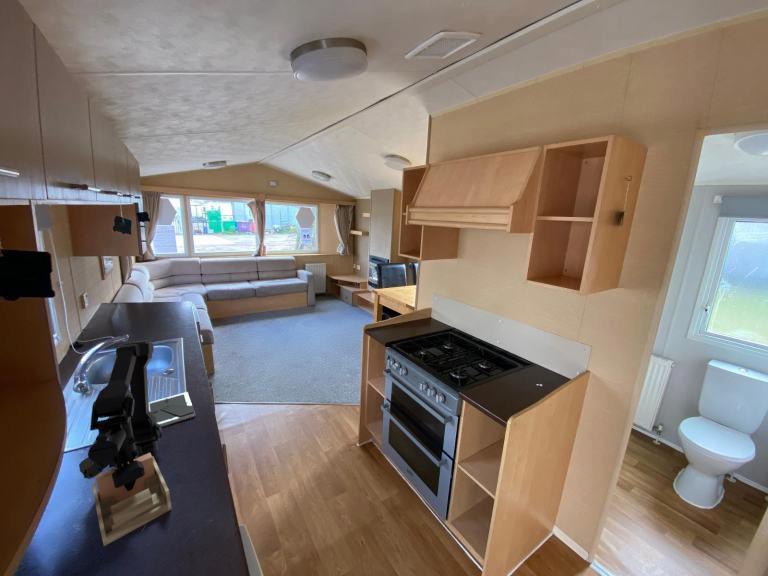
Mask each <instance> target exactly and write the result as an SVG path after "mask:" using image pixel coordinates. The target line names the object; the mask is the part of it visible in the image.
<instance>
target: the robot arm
mask: <svg viewBox="0 0 768 576" xmlns="http://www.w3.org/2000/svg"><path fill="white" fill-rule="evenodd" d="M154 348H155V347H154V344H153V342H150V341H149V340H148V339H145V340H135V341H128V342H124V344H123V345H120V346H117V347H116V350H115V355H116V357H115V360H114V364H113V367H112V370H111V373H110V376H109V378H108V379H109V380H108V382H107V385H106V386H105V387H103V388H102V389H101V390H100V391H99V392H98V394H97V396H96V399H95V401H93V404H92V407H91V410H92V411H91V418H90V426H89V431H90V432H91V431H95V430H98V434H97V435H96V438H95V440H94V441H93V443H92V445H91V446H90V447H89V449H88V452H87V457H86V458H84V459H83V460H82V461H81V462H80V463H79V464H78V467H79V472H80V473H81V474H82V476H83V478H84V479H87V480H91V479H93V478H96V475H98V474H100V473H103V472H104V469H106V468H107V467H109V468H110V469H112V468H115V467H117V469H116V470H115V471H114V472H113V473H112V479H113V483H114V487H115V488H119V487H121V486H123V485H124V486H125V488H126V490H127V491H130V490H132V489H133V487H134V484H135V482H136V479H138V478H141V477H143V476H144V475H145V472H144V467H143V465H142V462H141V461H137V460H135V461H134V459H136V458H138V457H141V456H143V455H146V454H148V453H151V455H152V457H154V458H155V457H156V455H157V454H158V451H159V449H158V442H159V441H160V439H161V438H163V436H164V435H163V429H162V427H161V426H160V425H159V424H158V423H156V418H155V416H154V415H153V414H152V413H151V412H150V411H149V386H148V385H149V384H148V383H149V382H148V368H147V366H148V365H149V364H150V362H151V360H152V358H153V353H154V350H155V349H154ZM105 418H106V419H105ZM99 419H101V420H99ZM128 462H129V464H128ZM122 464H123V467H122Z"/></svg>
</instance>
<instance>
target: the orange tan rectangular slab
mask: <svg viewBox="0 0 768 576" xmlns="http://www.w3.org/2000/svg"><path fill="white" fill-rule="evenodd" d="M135 460H137V461H141V462H142V465H143V467H144V472H145V475H144V476H143V477H141V478H138V479H136V482H135V484H134V487H133V489H132V490H130V491H127V490H126V488H125V486H124V485H123V486H121V487H119V488H115V487H114V483H113V479H112V473H113V472H114V471H115V470H116V469H117V467H111V468H110V469H108V470H105V471H102V472H101V473H99V474H98V475H96V476H95V480H96V481H95V482H96V487H97V492H99V495H100V500H101V501H102V500H104V499H106V498H108V497H110V496H112V495H113V498H114V503H115V504H117V503H119V502H121V501H123V500H125V499H127V498H129V497H131V496H134V495H136V494H138V493H140V492H142V491H144V490H146V485H145V480H146V479H149V478H151V477H153V476H155V471H154V465H153V459H152V455H151V453H148V454H146V455H143V456H141V457H138V458H137V457H135V459H134V461H135ZM128 464H129V462H128ZM122 467H123V464H122Z"/></svg>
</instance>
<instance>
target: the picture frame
mask: <svg viewBox="0 0 768 576" xmlns="http://www.w3.org/2000/svg"><path fill="white" fill-rule="evenodd" d="M149 411H150V412H151V413H152V414H153V415H154V416H155V418H156V423H158V424H159V425H160V426H161V428H163V427H166V426H169V425H171V424H175V423H178V422H182V421H184V420H188V419H191V418H193V417H196V412H195V408H194V405H193V404H192V400H191V398H190V396H189V392H188V391H185V392H182V393H178V394H175V395H174V394H173V395H171V396H167V397H163V398H160V399H156V400H152V401H150V402H149Z"/></svg>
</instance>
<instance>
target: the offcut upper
mask: <svg viewBox="0 0 768 576" xmlns="http://www.w3.org/2000/svg"><path fill="white" fill-rule="evenodd" d="M152 505H153V501H152V496H151V493H150V491H149V488H148V489H146V490H144V491H142V492H140V493H138V494H136V495H134V496H131V497H129V498H127V499H125V500H123V501H121V502H119V503H117V504H115V505H113V506H111V507H110V508H111V513H112V517H113V522H114V525H115V524H117V523H119V522H121V521H123V520H125V519H127V518H129V517H131V516H133V515H135V514H137V513H138V512H140V511H142V510H144V509H146V508H148V507H150V506H152Z"/></svg>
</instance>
